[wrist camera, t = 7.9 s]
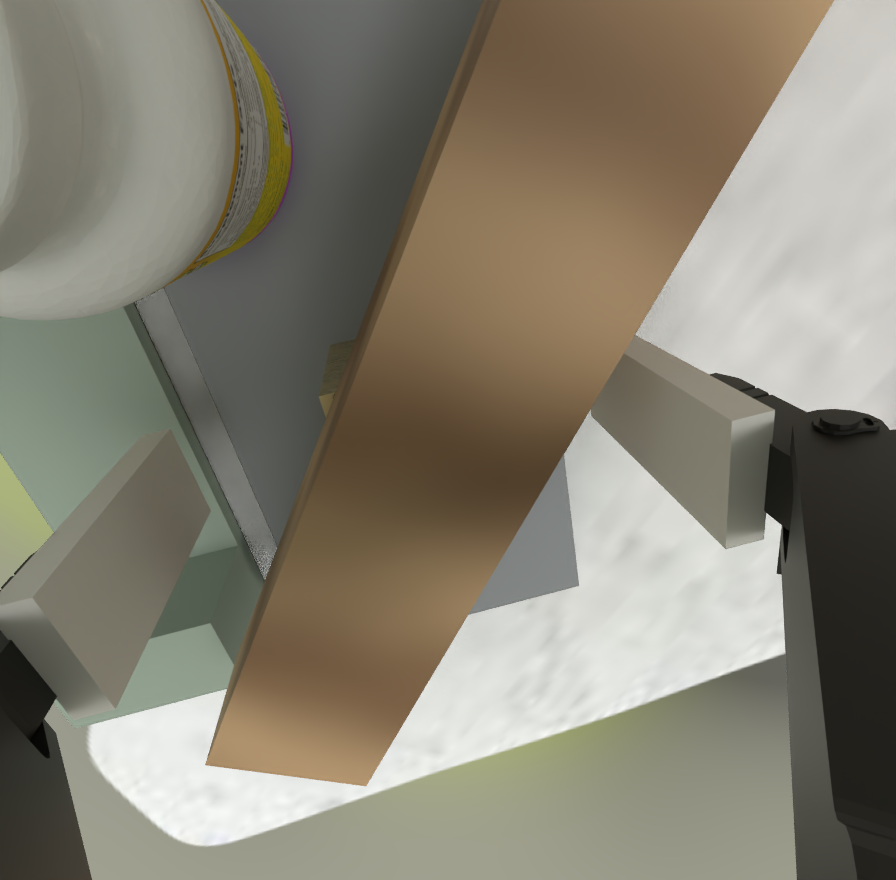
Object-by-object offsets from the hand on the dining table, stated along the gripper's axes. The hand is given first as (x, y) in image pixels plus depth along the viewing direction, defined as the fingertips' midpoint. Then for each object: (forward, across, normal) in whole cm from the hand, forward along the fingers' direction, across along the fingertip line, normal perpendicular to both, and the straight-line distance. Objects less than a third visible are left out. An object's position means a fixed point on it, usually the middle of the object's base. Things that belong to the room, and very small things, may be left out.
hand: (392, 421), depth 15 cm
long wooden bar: (-1, +1, +1) cm, 2 cm away
